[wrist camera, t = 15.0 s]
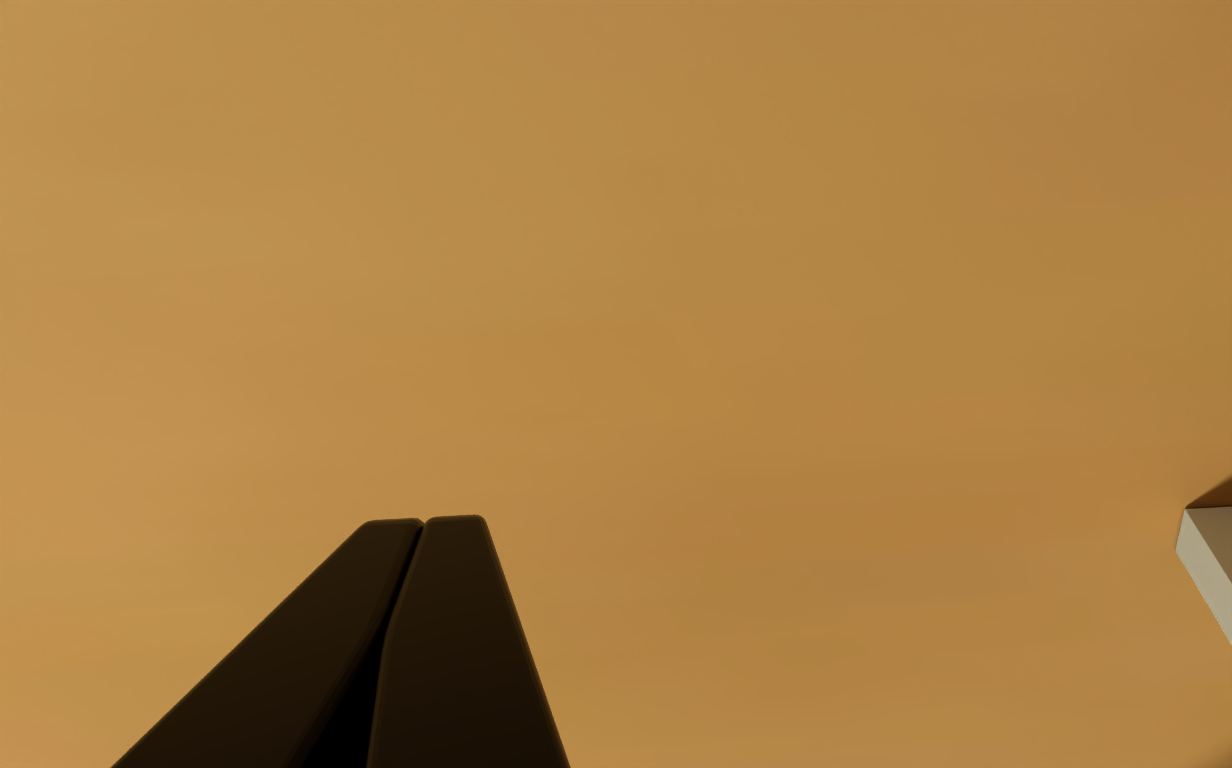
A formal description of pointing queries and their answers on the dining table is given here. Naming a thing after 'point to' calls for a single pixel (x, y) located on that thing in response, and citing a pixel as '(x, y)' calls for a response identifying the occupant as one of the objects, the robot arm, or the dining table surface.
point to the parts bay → (1210, 558)
